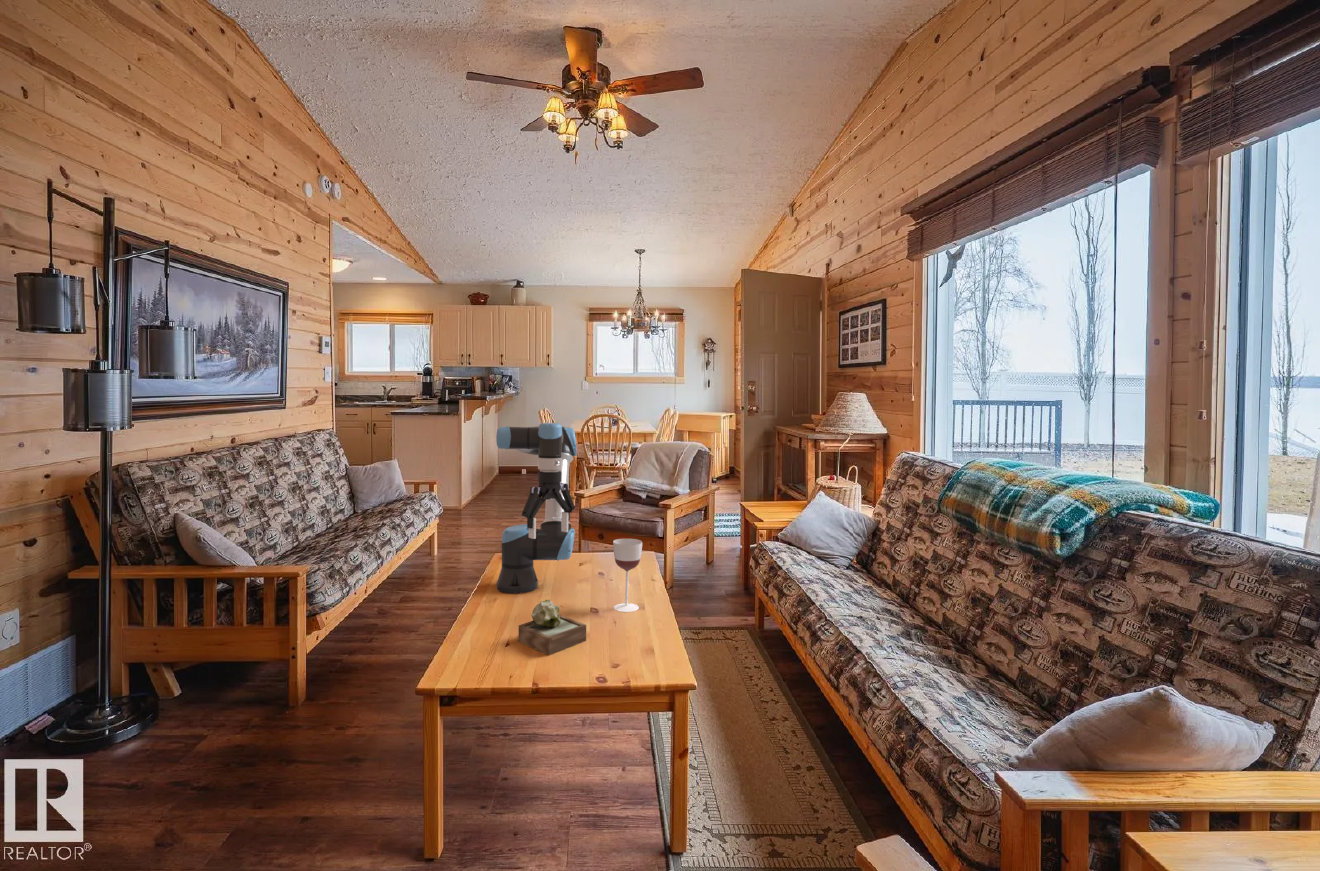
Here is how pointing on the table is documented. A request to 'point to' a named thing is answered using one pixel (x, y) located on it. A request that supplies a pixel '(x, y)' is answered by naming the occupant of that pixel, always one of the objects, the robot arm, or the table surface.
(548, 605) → the fruit
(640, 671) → the table surface
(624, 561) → the wineglass
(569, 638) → the stand
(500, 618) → the table surface
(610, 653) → the table surface
